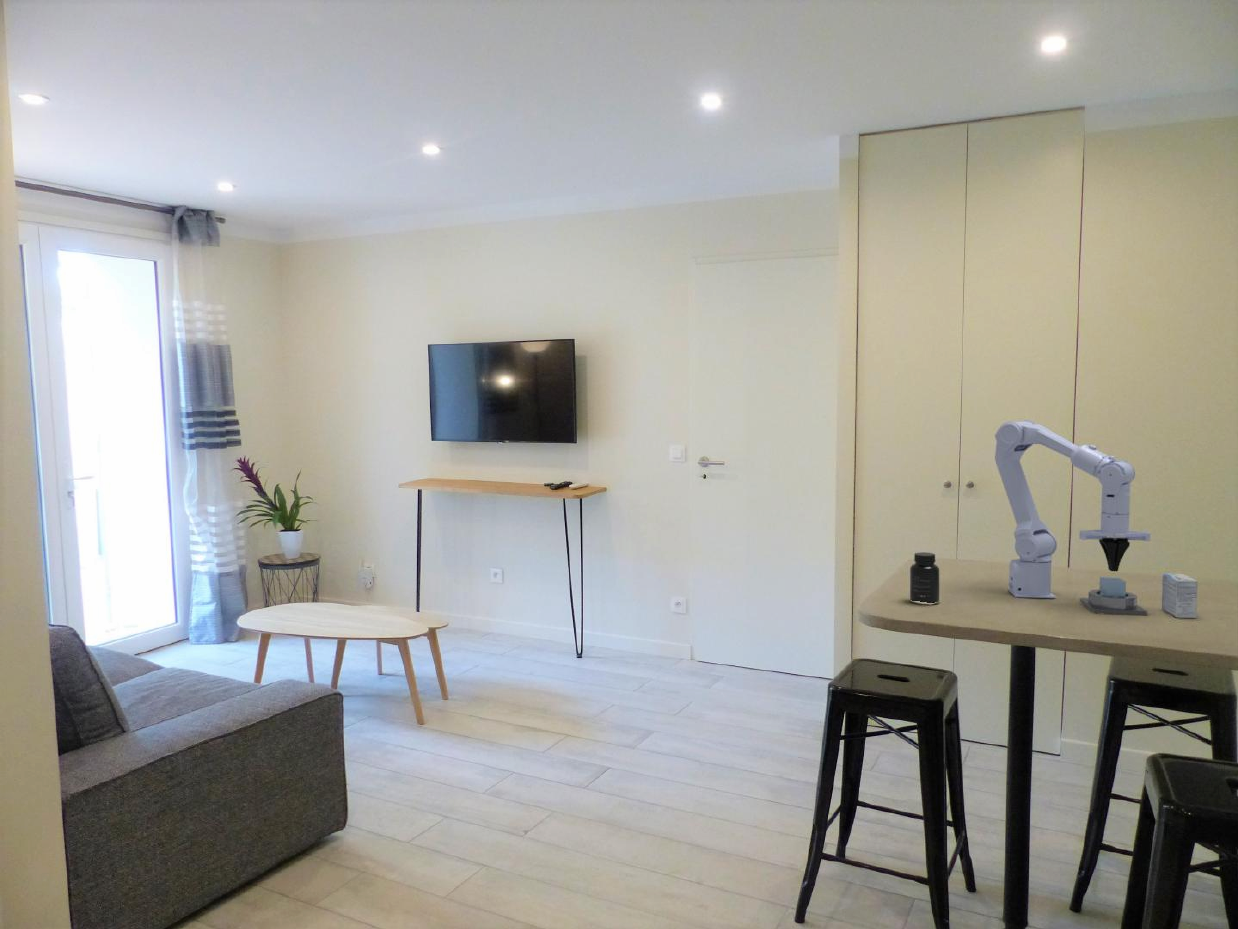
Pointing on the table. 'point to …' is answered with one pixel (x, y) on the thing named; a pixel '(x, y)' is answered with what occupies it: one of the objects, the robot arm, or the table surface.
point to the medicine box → (1179, 595)
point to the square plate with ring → (1112, 604)
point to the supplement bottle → (924, 578)
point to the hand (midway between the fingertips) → (1113, 570)
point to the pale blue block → (1112, 587)
